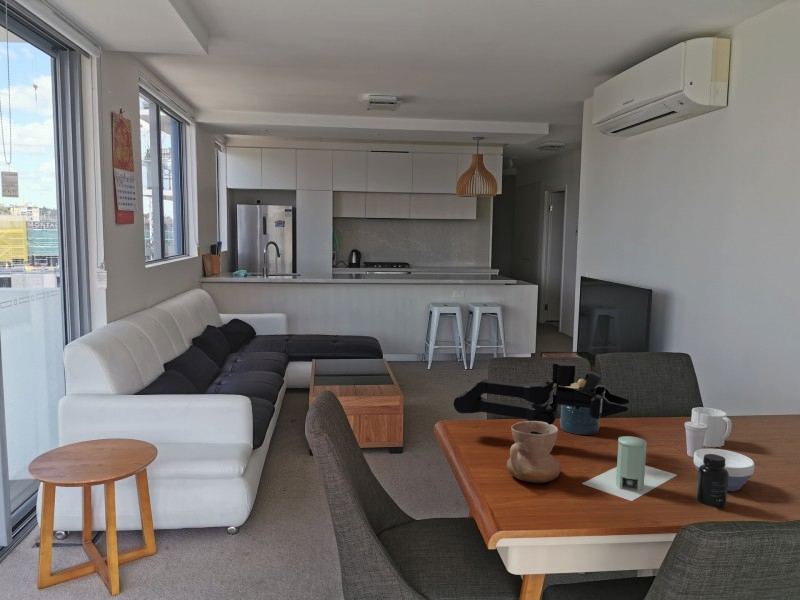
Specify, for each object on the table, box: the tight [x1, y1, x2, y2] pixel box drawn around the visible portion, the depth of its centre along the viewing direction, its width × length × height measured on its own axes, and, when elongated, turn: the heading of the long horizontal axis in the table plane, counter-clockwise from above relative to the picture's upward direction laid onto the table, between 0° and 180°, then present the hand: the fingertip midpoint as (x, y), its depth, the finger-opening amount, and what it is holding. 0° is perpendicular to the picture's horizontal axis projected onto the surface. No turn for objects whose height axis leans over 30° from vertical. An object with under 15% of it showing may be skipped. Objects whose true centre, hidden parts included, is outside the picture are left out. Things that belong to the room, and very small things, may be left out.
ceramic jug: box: [506, 420, 562, 484], centre depth 169 cm, size 18×14×14 cm
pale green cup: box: [616, 435, 648, 492], centre depth 163 cm, size 7×7×12 cm
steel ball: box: [624, 478, 636, 487], centre depth 163 cm, size 3×3×3 cm
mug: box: [690, 406, 733, 448], centre depth 200 cm, size 13×10×10 cm
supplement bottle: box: [695, 454, 729, 509], centre depth 155 cm, size 7×7×12 cm
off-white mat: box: [581, 464, 678, 502], centre depth 168 cm, size 26×14×1 cm, turn 132°
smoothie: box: [684, 411, 708, 458], centre depth 188 cm, size 6×6×14 cm
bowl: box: [693, 448, 755, 492], centre depth 167 cm, size 14×14×8 cm
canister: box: [559, 378, 600, 436], centre depth 211 cm, size 13×13×18 cm
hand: (628, 405), depth 182 cm, fingers open, 9 cm apart
